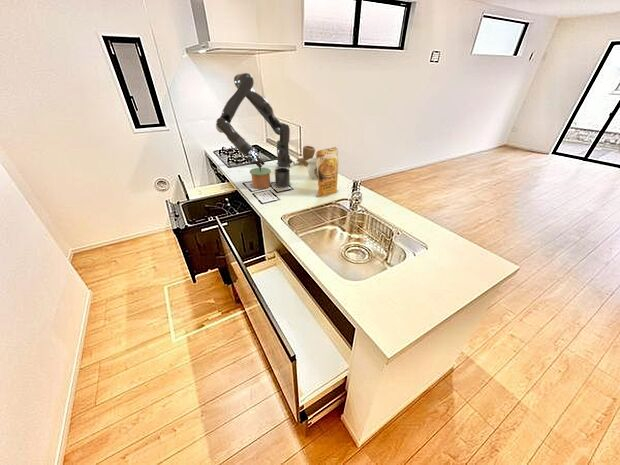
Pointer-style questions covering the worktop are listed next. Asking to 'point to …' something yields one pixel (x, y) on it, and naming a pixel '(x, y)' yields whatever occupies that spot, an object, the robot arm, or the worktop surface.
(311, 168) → the pitcher
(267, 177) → the clay pot
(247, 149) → the robot arm
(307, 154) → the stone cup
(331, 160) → the pancake mix bag
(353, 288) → the worktop surface
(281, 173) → the cup
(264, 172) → the lid
